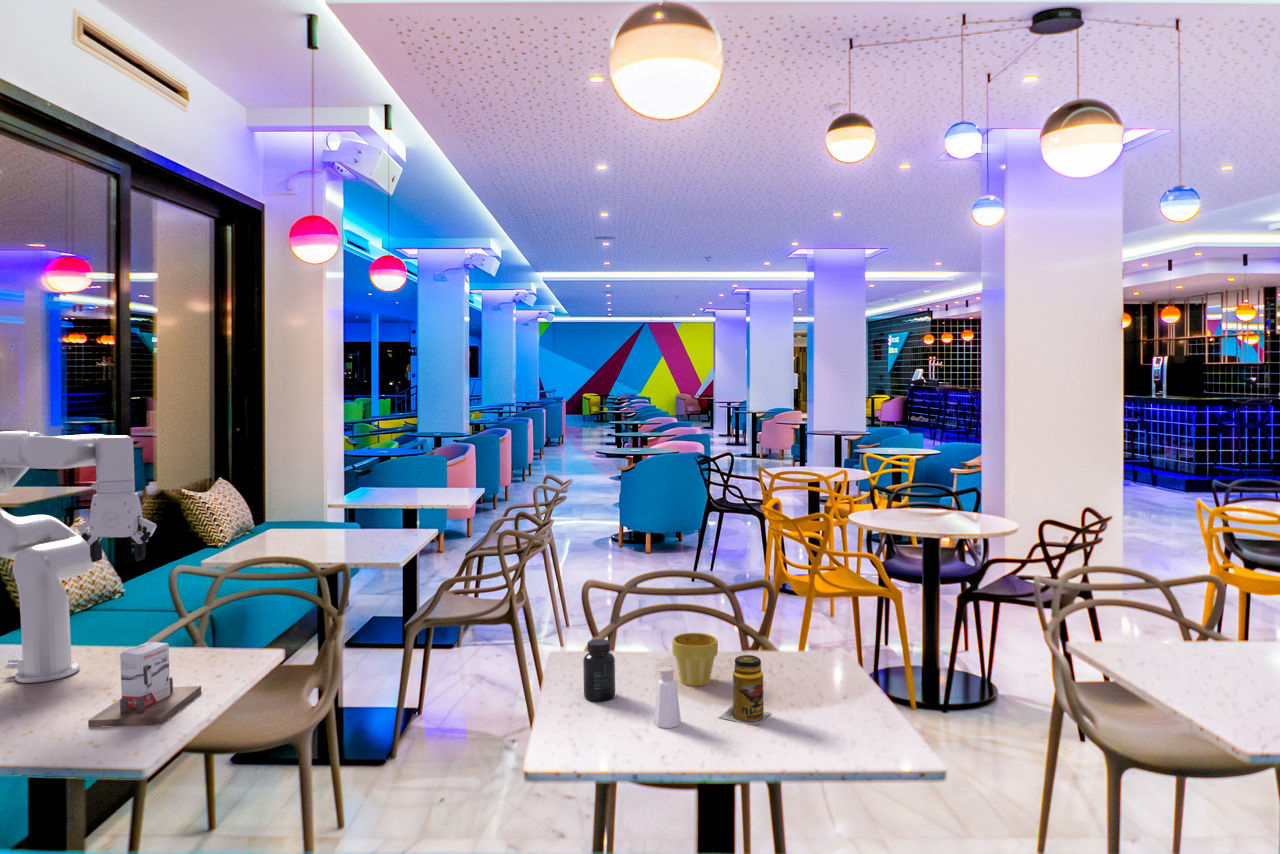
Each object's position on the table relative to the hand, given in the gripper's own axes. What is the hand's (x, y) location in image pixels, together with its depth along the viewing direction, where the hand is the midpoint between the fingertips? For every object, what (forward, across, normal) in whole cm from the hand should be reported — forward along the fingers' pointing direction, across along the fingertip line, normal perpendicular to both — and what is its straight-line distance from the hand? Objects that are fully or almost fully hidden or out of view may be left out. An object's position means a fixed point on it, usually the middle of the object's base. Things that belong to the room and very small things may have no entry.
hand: (118, 560), depth 194 cm
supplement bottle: (+28, +112, -24) cm, 118 cm away
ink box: (+27, +16, -21) cm, 37 cm away
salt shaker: (+27, +125, -40) cm, 135 cm away
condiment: (+27, +141, -38) cm, 149 cm away
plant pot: (+27, +134, -17) cm, 138 cm away
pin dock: (+28, +16, -21) cm, 39 cm away
